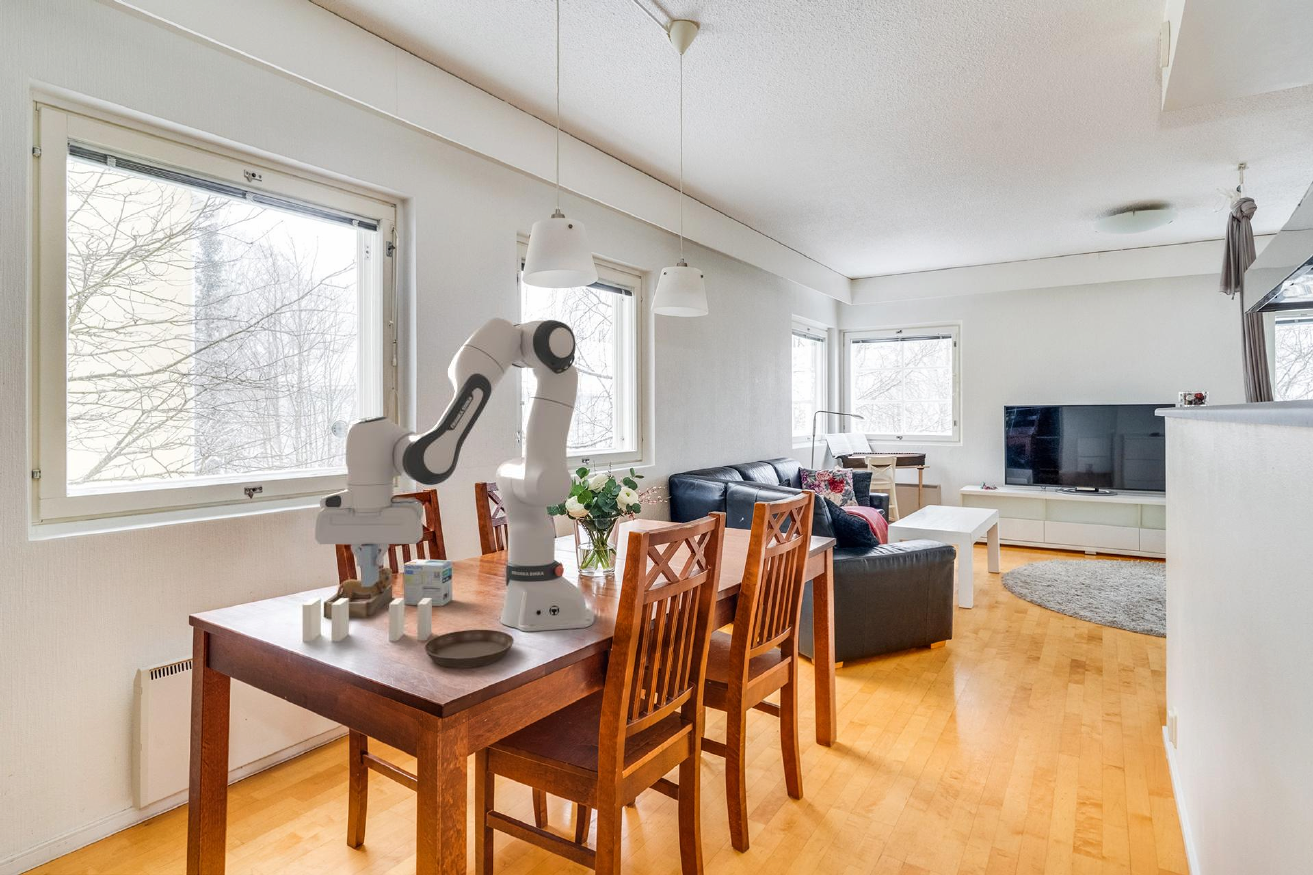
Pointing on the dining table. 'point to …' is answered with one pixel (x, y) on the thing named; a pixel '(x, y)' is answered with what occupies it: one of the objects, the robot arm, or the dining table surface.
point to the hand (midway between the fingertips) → (370, 565)
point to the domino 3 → (369, 565)
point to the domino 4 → (396, 619)
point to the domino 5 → (424, 619)
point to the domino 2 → (340, 619)
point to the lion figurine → (355, 586)
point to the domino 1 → (311, 619)
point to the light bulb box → (428, 581)
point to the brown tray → (360, 604)
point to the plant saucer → (468, 648)
